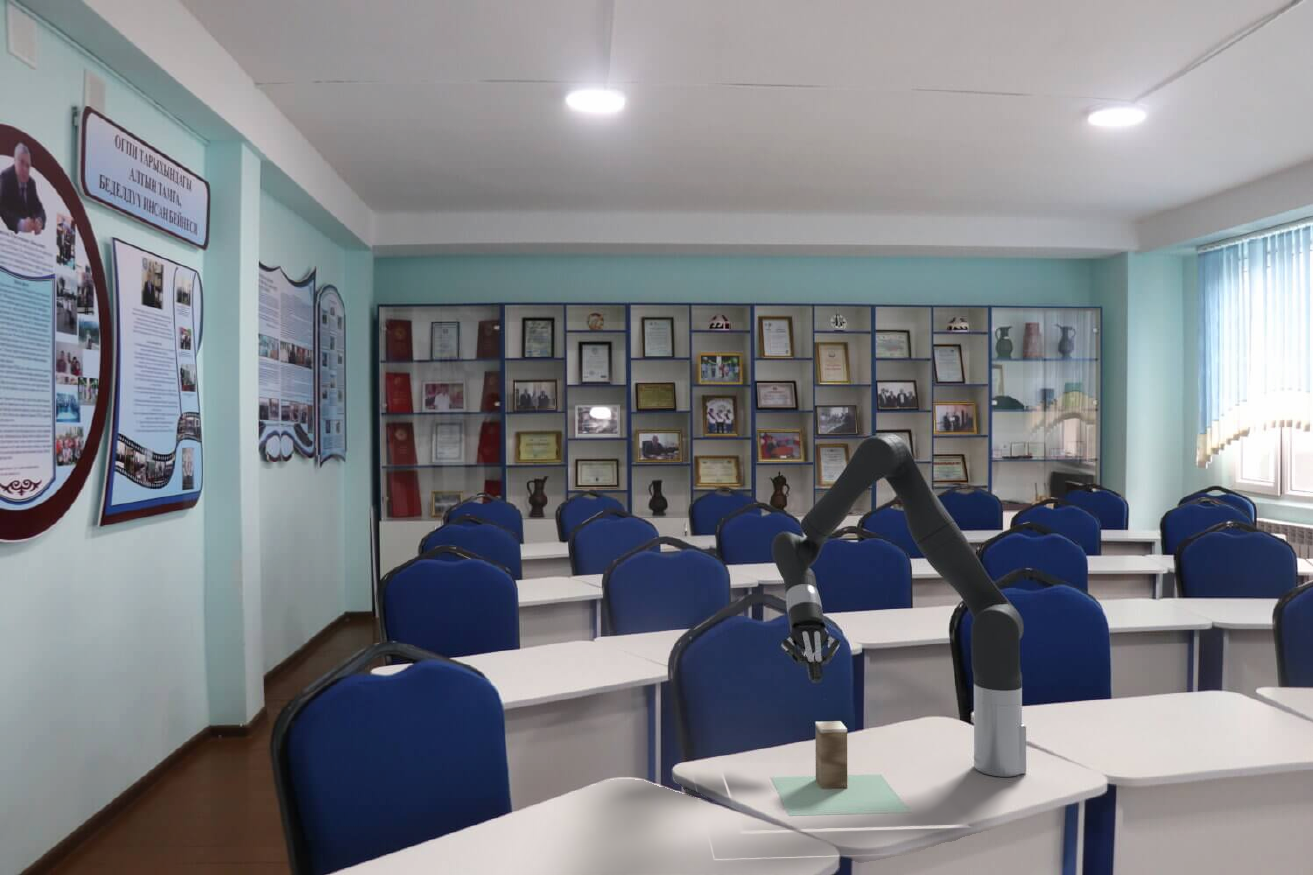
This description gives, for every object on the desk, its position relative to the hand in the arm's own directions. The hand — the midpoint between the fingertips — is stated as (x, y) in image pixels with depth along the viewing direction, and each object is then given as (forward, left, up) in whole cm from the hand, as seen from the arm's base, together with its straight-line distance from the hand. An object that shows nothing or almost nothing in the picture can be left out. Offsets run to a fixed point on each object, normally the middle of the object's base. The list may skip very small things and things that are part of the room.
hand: (817, 680), depth 199 cm
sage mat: (0, +17, -17) cm, 24 cm away
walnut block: (0, +12, -17) cm, 21 cm away
